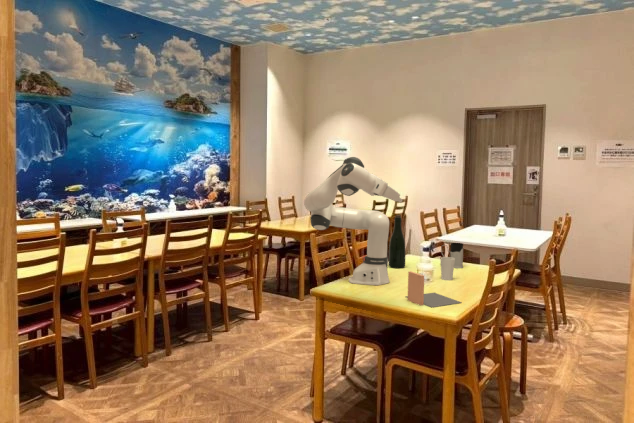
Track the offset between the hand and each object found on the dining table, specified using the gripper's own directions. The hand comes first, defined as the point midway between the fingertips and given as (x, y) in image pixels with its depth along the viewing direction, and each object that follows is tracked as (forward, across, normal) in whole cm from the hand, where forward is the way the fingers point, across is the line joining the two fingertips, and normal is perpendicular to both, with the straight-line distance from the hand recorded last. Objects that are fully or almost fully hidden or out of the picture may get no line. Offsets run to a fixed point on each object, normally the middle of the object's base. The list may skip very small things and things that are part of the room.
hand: (396, 199), depth 233 cm
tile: (+31, +9, -38) cm, 50 cm away
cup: (+70, -28, -21) cm, 79 cm away
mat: (+40, +8, -33) cm, 53 cm away
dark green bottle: (+63, -66, -30) cm, 96 cm away
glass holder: (+92, -56, -13) cm, 109 cm away
